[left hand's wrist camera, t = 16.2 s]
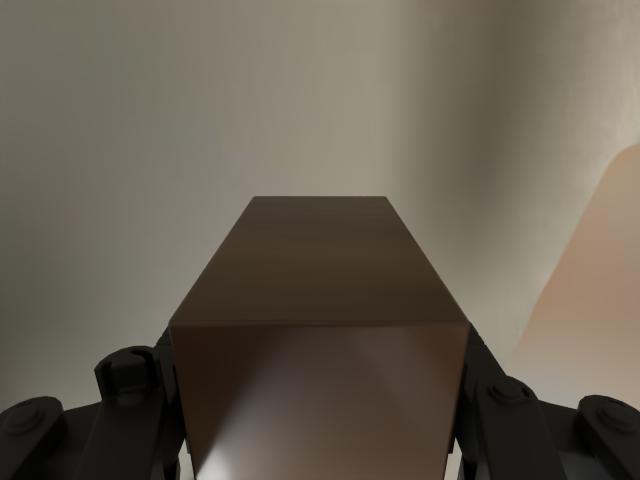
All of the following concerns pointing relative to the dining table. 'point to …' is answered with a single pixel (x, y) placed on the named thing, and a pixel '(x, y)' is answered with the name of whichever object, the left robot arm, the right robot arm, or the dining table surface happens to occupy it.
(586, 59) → the dining table surface
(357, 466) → the bar
